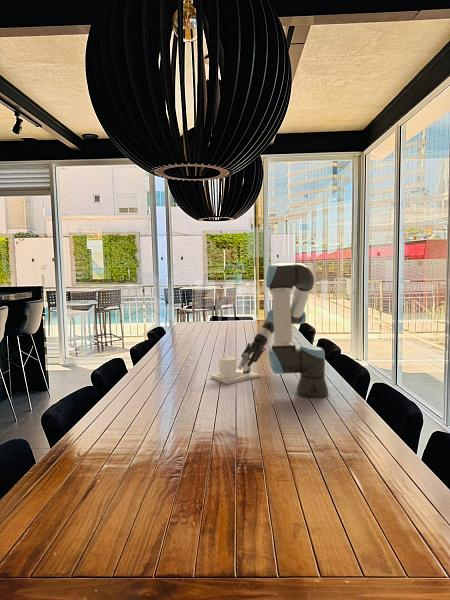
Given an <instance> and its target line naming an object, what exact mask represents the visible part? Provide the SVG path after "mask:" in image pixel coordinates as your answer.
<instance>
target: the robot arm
mask: <svg viewBox="0 0 450 600" xmlns="http://www.w3.org/2000/svg"><path fill="white" fill-rule="evenodd" d="M314 284H315V277H314V274H313V272H312V270H311V268H309V267H308V266H306V265H305V264H303V263H301V262H296V263H295V262H294V263H291V262H290V263H289V262H287V263H282V262H281V263H280V262H277V263H271V264H270V263H269V265H268V266H267V270H266V276H265V288H268V290H269V291H268V292H270V293H271V294H272V309H270V310H269V311H268V312H267V314H266V318H265V320H264V321H265V322H264V323H263V324H262V326H261V328H260V329H259V330H258V332H257V334H255V336H254V338H253V341H252V342H251V343H250V342H248V343H247V346H246V348H245V349H244V351H243V352H242V353H241V356H240V357H241V360H240V362H239V364H238V365H237V366H236V369H237V370H241V369H243V370H244V371H245V372H246V371H247V370H248V368H249V367H250V368H251V366H252V364H253V363H257V362H258V360H259V358H260V357H261V356H262V354H263V353H264V352H265V351H266V347H265V346H267V345H266V344H267V343H268V342H269V340H270V338H271V337H272V335H274V337H273V338H274V342H273V344H272V345H271V349H269V350H268V359H269V365H270V368H271V371H272V372H273V374H274V373H275V374H281V375H283V374H300V375H299V376H300V377H299V381H298V383H297V387H296V393H297V395H298V396H301V397H304V398H311V399H320V398H324V397H327V396H329V388H328V385H327V381H326V379H325V378H326V375H325V374H326V373H325V371H326V370H325V368H326V356H325V355H326V354H325V350H324V349H323V347H319V346H316V345H310V344H302V345H300V346H299V348H297V347H296V344H295V343H294V342H293V330H292V329H293V327H292V325H300V324H305V323H306V320H307V317H306V316H307V315H306V311H305V307H306V304H307V302H308V298H309V294H310V291H312V289H313V287H314ZM293 287H295V288H294V289H293ZM293 290H294V291H293ZM291 292H294V293H293V296H292V301H291ZM243 353H250V358H249V359H250V360H248V361H247V363H246V364H245V366H244V367H243Z"/></svg>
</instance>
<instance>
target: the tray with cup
mask: <svg viewBox="0 0 450 600" xmlns="http://www.w3.org/2000/svg"><path fill="white" fill-rule="evenodd" d="M242 354H243V367H244V366H245V364H246V363H247V361H248V360H250V359H249V358H251V355H250V353H243V352H242ZM243 367H242V369H241V370H239V369H236V378H231V379H226V378H223V377H220V372H217V373H213V374H210V375H211V376H210V377H211V379H213V380H216V381H218V382H222V383H224V384H227V385H229V384H233V383H238V382H242V381H245V380H251V379H254V378H259V377H260V376H261V374H260V373H256V372H254V371H251V366H250V367H249V368H248V370H247V371H246V372H245V371H244V370H243Z"/></svg>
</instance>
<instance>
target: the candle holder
mask: <svg viewBox="0 0 450 600" xmlns="http://www.w3.org/2000/svg"><path fill="white" fill-rule="evenodd" d="M218 365H219V373H220V377H223V378H226V379H231V378H236V377H237V376H236V370H237V357H236V356H233V355H232V356H230V355H229V356H228V355H225V356H219V357H218Z"/></svg>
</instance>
